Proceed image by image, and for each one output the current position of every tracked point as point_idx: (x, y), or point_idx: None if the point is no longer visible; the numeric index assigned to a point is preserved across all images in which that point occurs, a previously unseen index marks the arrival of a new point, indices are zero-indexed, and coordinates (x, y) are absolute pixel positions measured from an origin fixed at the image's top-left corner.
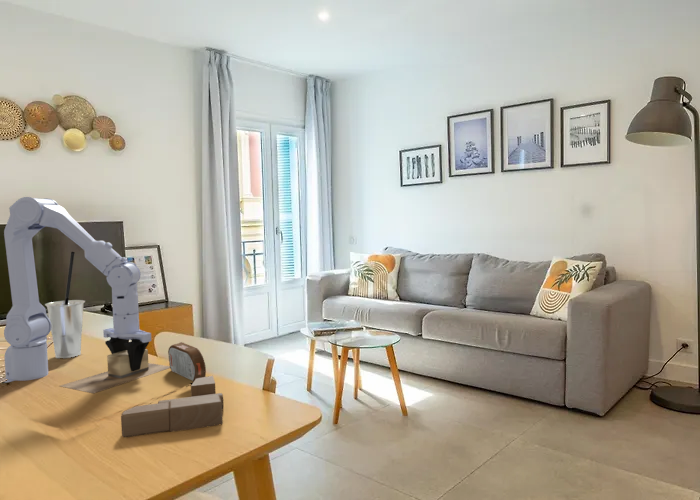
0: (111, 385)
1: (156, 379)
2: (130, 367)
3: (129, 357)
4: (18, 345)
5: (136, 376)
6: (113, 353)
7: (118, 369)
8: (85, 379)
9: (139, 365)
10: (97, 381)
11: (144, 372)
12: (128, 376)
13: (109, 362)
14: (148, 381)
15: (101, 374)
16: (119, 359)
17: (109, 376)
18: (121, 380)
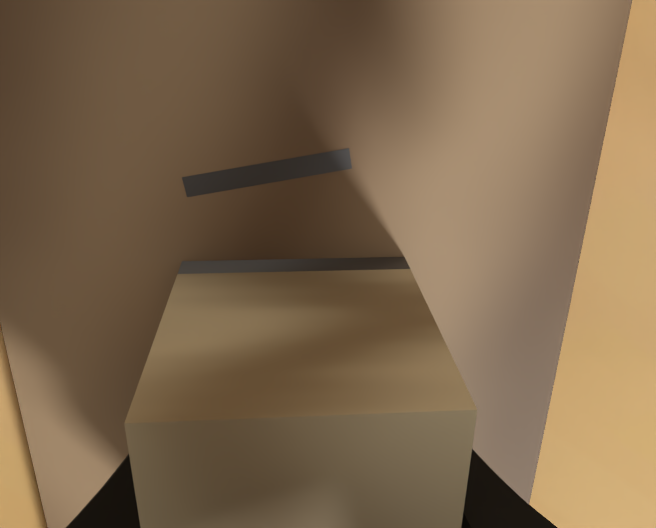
0: (3, 14)
1: (2, 455)
2: None
3: (129, 524)
4: None
5: (93, 373)
6: (497, 522)
7: (208, 308)
8: (563, 49)
9: None
10: (339, 56)
11: None
12: None
13: (402, 344)
14: (8, 392)
15: (532, 264)
16: (149, 395)
17: (379, 254)
18: (100, 213)
